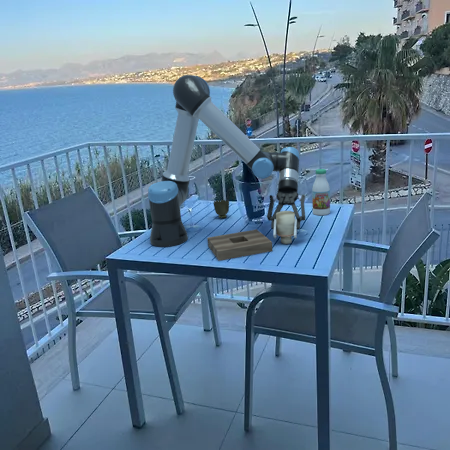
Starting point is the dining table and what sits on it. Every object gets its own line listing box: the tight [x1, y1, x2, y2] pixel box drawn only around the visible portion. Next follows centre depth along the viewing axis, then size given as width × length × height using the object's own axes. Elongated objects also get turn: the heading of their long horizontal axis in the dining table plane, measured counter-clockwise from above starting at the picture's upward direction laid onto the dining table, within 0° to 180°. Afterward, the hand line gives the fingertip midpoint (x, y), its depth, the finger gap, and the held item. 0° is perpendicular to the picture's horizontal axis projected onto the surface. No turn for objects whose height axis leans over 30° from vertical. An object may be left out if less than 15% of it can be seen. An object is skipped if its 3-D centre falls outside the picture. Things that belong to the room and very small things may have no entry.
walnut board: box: [206, 229, 273, 262], centre depth 150 cm, size 16×20×4 cm
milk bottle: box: [311, 168, 331, 216], centre depth 182 cm, size 8×8×20 cm
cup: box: [213, 199, 230, 219], centre depth 190 cm, size 8×7×8 cm
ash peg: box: [276, 210, 296, 245], centre depth 151 cm, size 7×7×11 cm
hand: (284, 236), depth 149 cm, fingers closed on ash peg, 7 cm apart
